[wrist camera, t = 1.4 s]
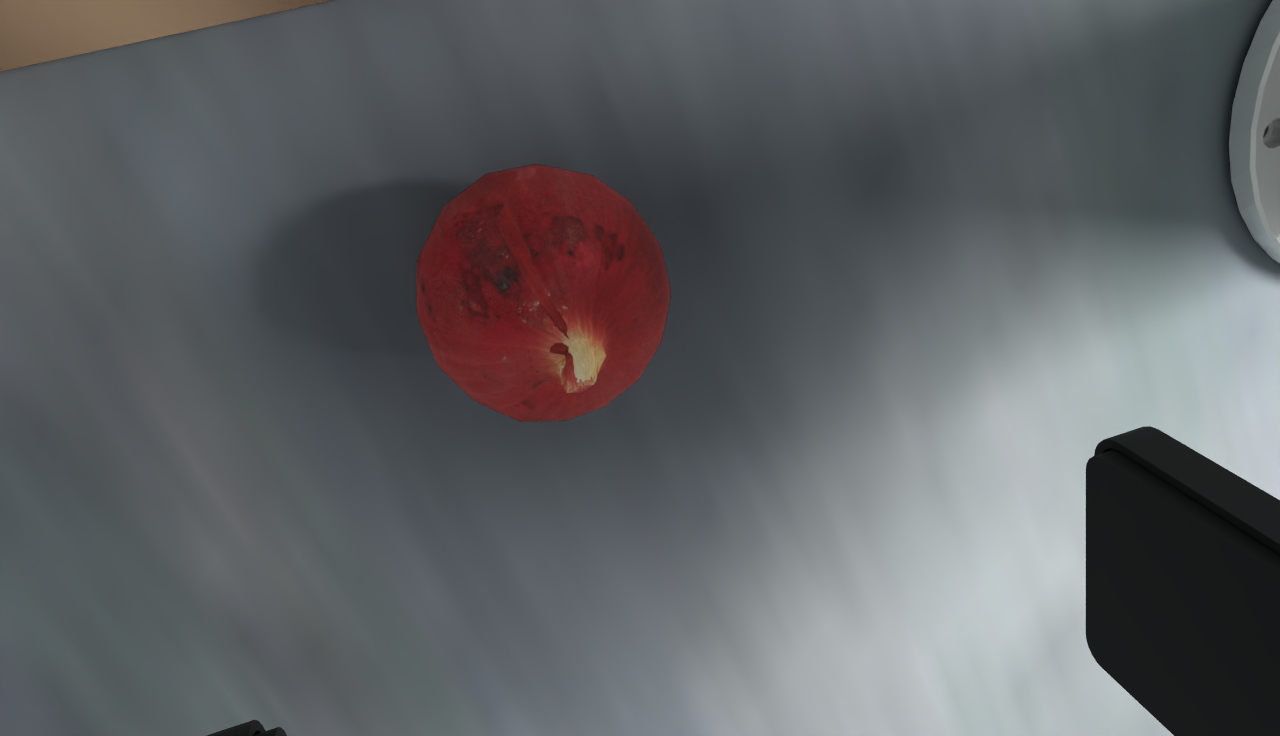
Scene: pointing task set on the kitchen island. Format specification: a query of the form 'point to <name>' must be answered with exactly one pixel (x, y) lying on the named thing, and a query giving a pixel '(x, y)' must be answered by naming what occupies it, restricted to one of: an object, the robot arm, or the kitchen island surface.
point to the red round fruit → (542, 292)
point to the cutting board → (111, 23)
